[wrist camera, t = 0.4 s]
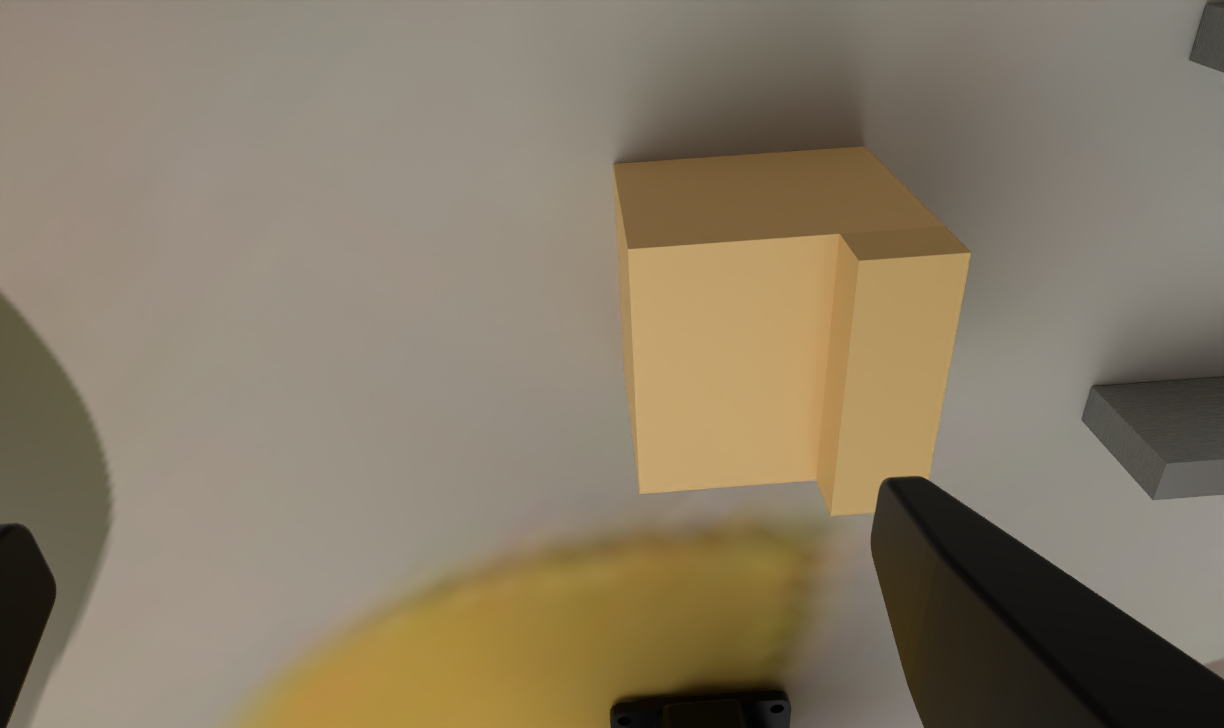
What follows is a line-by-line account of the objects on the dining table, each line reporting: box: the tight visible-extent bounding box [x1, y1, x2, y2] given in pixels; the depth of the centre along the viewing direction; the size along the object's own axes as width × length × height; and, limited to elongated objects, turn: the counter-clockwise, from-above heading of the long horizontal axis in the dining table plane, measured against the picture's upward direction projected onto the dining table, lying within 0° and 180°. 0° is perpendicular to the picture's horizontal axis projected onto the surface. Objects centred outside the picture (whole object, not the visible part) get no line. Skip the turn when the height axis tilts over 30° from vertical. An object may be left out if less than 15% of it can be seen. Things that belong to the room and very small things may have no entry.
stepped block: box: [613, 146, 971, 516], centre depth 19 cm, size 6×6×6 cm
